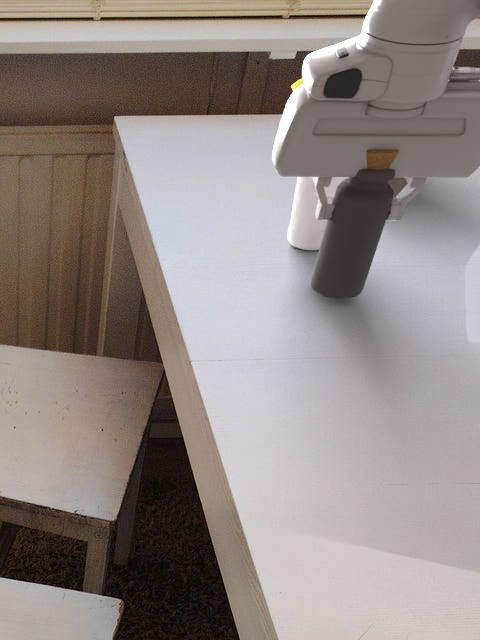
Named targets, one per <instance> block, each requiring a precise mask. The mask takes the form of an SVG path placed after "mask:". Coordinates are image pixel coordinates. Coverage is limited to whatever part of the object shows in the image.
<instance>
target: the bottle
mask: <svg viewBox="0 0 480 640" xmlns="http://www.w3.org/2000/svg"><path fill="white" fill-rule="evenodd" d="M398 153H399V150H367V151H366V159H367V169H361V170H359V171H358V172H357V174H356V176H355V177H349V178H347V179H345V180H343V181H342V182H341V183H339V184H338V186H337V188H336V192H335V195H334V202H335V203H336V205H335V209H334V211H333V212H332V214H333V216H332V219H331V220H327V223H326V227H325V230H324V234H323V238H322V241H321V245H320V249H319V250H318V252H317V256H316V260H315V264H314V268H313V272H312V275H311V279H310V287H311V289H312V290H313V291H314V292H315V293H316V294H318V295H321V296H322V297H327V298H330V299H335V300H346V299H352V298H355V297H358V296H359V295H361V294H362V292H363V290H364V287H365V285H366V282H367V278H368V276H369V273H370V270H371V267H372V264H373V261H374V258H375V254H376V252H377V248H378V246H379V243H380V239H381V236H382V233H383V231H384V227H385V224H386V221H387V220H386V219H387V216H388V213H389V209H390V206H391V203H392V200H393V197H395V190H394V187H393V186H392V185H391V184H390V183H389V182H390V181H392V180H393V179H395V178H396V177H394V176H395V170H393V169H388V168H389V166H390V165H391V164H392V162H393V161H394V159H395V157H396V156H397V154H398Z"/></svg>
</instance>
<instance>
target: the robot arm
mask: <svg viewBox="0 0 480 640" xmlns="http://www.w3.org/2000/svg"><path fill="white" fill-rule="evenodd" d="M478 18H479V19H480V0H373V3H372V5H371V7H370V9H369V10H368V13H367V14H366V16H365V18H364V21H363V25H362V28H361V33H360V35H357V36H355V37H352V38H349V39H347V40H344V41H342V42H338V43H337V44H336V43H335V44H334V45H331V46H327V47H324V48H322V49H319V50H316V51H313V52H311V53H308V54H307V55H306V57H305V58H304V60H303V63H302V68H301V79H303V83H304V84H302V85H301V86H299V87H298V88H297V89H296V90H295V91H294V92H292V93H291V94H290V97H289V98H288V100H287V102H286V104H285V107H284V109H283V113H282V116H281V119H280V121H279V125H278V127H277V132H276V134H275V139H274V142H273V147H272V152H271V161H272V165H273V167H274V169H275V171H276V173H277V174H278V176H280V177H282V178H296V177H297V178H298V177H313V181H314V184H315V188H316V191H317V194H318V198H319V200H318V203H317V207H316V213H315V216H316V219H317V220H331V219H332V216H333V214H332V212H333V211H334V209H335V205H336V203H335V202H334V198H333V197H326V194H325V191H324V187H329V186H330V184H331V180H332V177H355V176H356V174H357V172H358V171H359V170H361V169H367V159H366V151H367V150H399V153H398V154H397V156H396V157H395V159H394V161H393V162H392V164H391V165H390V166H389V168H388V169H393V170H395V176H394V177H395V178H405V180H406V182H407V183H406V185H404V187H403V188H402V190H400V192H399V193H398V194H397V195H396V197H395V196H394V197H393V200H392V203H391V206H390V209H389V213H388V216H387V219H386V221H401V220H402V218H403V215H404V212H405V208H406V206H407V205H409V204H410V203H411V201H412V200H414V199H415V197H416V196H417V195H418V194H419V193H420V192H421V191H422V190H423V189H424V187H425V184H426V181H427V179H428V178H433V179H434V178H436V179H437V178H439V179H441V178H442V179H444V178H445V179H466V178H469V177H470V176H472V175H473V174H474V173H476V171H477V170H479V168H480V67H473V66H455V62H456V60H457V57H458V54H459V52H460V48H461V45H462V42H463V39H464V36H465V33H466V31H467V28H468V26H469V25H470V23H472V22H473V21H474V20H475V19H478Z"/></svg>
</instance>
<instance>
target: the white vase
mask: <svg viewBox="0 0 480 640" xmlns="http://www.w3.org/2000/svg"><path fill="white" fill-rule="evenodd" d="M347 178H349V177H332V180H331V184H330V186H329V187H324V191H325V194H326V197H333V198H334V195H335V192H336V188H337V186H338V184H339V183H341V182H342V181H343V180H345V179H347ZM293 197H294V198H293V203H292V209H291V216H290V220H289V221H290V222H289V225H288V228H287V234H286V239H287V241H288V243H289V244H290V245H291V246H292V247H294V248H296V249H300V250H305V251H319V249H320V245H321V241H322V238H323V234H324V230H325V227H326V223H327V220H317V219H316V216H315V213H316V207H317V203H318V200H319V198H318V194H317V191H316V188H315V184H314V181H313V177H297V179H296V184H295V192H294V196H293Z"/></svg>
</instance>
